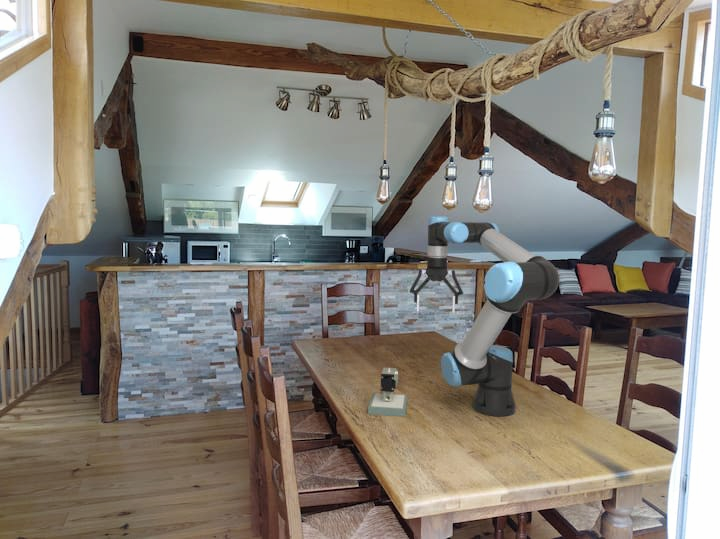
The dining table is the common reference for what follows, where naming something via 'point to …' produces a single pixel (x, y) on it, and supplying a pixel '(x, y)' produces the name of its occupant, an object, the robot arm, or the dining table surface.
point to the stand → (388, 405)
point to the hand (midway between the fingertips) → (435, 311)
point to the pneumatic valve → (389, 382)
